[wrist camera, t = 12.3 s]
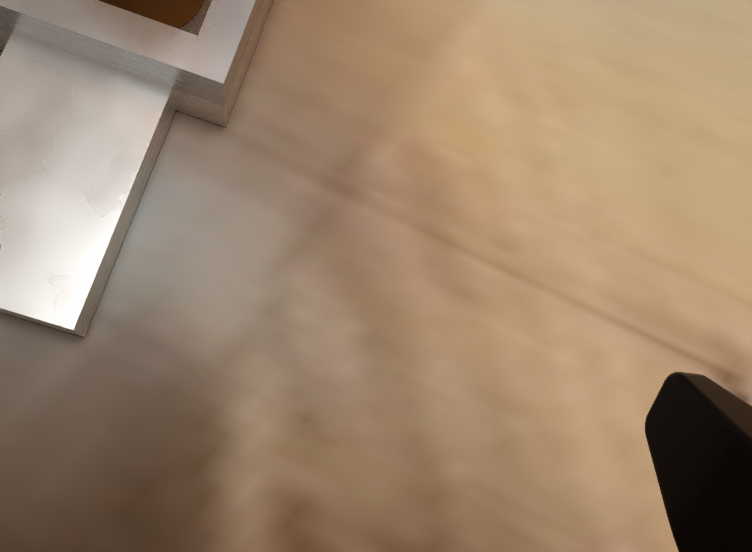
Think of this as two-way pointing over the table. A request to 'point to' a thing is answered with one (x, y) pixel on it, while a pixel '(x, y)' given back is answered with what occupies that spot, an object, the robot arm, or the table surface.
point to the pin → (161, 9)
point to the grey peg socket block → (95, 135)
